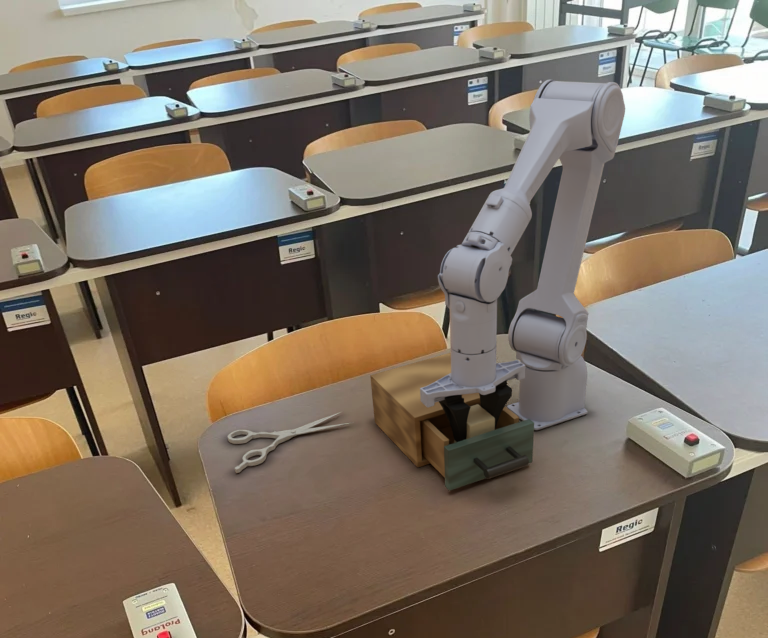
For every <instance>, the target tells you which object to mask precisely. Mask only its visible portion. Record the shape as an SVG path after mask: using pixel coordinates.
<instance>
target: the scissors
mask: <svg viewBox="0 0 768 638" xmlns="http://www.w3.org/2000/svg"><path fill="white" fill-rule="evenodd" d="M342 412H344V411H340V412H336V413H334V414H331V415H328V416H325V417H323V418H320V419H317V420H314V421H311V422H309V423H306V424H304V425H301V426H299V427H297V428H292V429H285V430H279V431H273V432H267V431H259V432H254V431H251V430H249V429H237V430H233V431H231V432H229V434H227V440H228V442H229V443H230V444H234V445H238V444H239V445H241V444H246V443H248V442H250V441H251V440H253V439H260V438H267V439H269V438H270V439H274V441H273V442H272V443H270V444H269V445H268V446H265V447H263V448H260V449H250V450H249V451H247V452H245V454H244V455H243V456H242V462H241V463H240V464H239V465H236V466H235V467H234V471H235V473H236V474H239V473H241V472H242V471H243V470H244V469H245V468H247V467H253V466H254V467H255V466H257V465H260V464H262V463H264V461H266V459H267V455H268V454H269V452H271V451H275V449H276V447H277V446H278V445H279V444H281V443H285V442H286V441H289V440H290V439H292V438H293V437H296V436H300V435H305V434H310V433H315V432H320V431H325V430H329V429H333V428H338V427H342V426H347V425H350V424H353V423H355V421H353V422H346V423H345V422H344V423H337V424H331V425H324V426H317V427H315V426H316V425H319V424H321V423H323V422H324V421H326V420H328V419H330V418H333V417H334V416H336V415H338V414H340V413H342ZM240 435H245V436H242V437H237V438H235V437H236V436H240ZM254 456H260V457H257V458H256V459H251V460H250V459H249V458H252V457H254Z"/></svg>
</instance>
